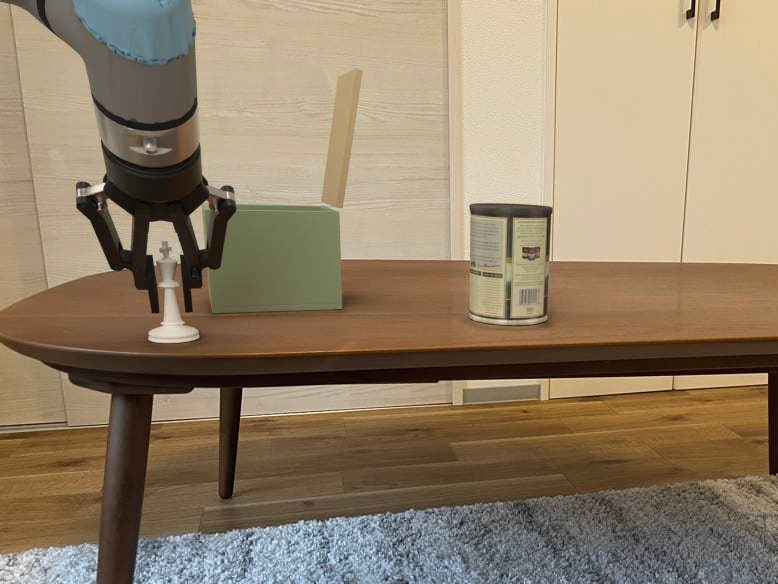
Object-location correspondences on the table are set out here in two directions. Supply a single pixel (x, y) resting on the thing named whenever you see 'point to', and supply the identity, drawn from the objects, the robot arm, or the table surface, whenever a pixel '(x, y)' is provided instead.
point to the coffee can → (509, 263)
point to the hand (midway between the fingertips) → (171, 302)
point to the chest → (277, 260)
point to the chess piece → (170, 305)
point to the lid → (341, 138)
